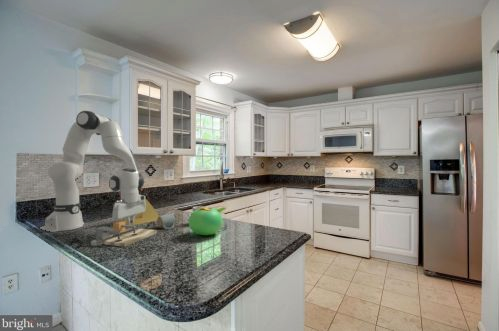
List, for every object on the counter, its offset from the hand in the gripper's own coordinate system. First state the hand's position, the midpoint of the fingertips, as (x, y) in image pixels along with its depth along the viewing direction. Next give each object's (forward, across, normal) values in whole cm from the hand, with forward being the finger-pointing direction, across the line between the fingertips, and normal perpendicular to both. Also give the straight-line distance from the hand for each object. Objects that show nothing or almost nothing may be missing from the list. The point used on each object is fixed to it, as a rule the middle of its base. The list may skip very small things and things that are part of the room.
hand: (130, 223), depth 133 cm
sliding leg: (+2, -7, -4) cm, 9 cm away
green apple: (+5, +8, -42) cm, 43 cm away
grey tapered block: (+5, -9, -4) cm, 11 cm away
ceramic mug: (+5, +14, -14) cm, 20 cm away
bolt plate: (+5, -8, -9) cm, 13 cm away
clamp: (+5, +21, +12) cm, 25 cm away
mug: (+5, +26, -27) cm, 38 cm away
